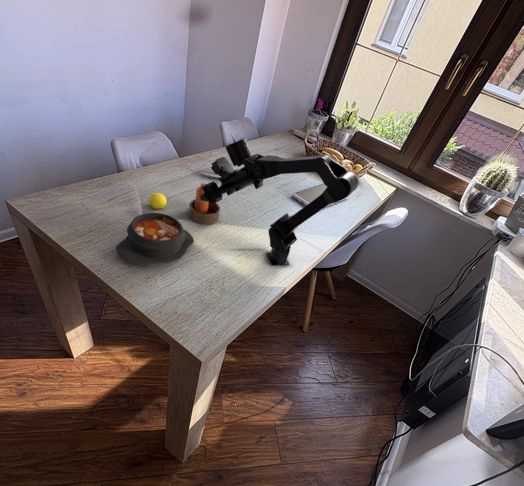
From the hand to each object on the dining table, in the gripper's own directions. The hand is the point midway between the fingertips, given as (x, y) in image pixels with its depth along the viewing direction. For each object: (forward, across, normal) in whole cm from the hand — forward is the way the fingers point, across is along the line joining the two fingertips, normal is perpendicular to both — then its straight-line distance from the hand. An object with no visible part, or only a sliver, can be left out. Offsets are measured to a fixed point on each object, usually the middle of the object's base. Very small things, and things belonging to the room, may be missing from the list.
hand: (209, 194), depth 125 cm
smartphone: (-9, -56, +22) cm, 61 cm away
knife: (+17, -32, -3) cm, 36 cm away
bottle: (+8, 0, +5) cm, 10 cm away
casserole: (+6, +26, +8) cm, 28 cm away
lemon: (+18, +8, -4) cm, 20 cm away
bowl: (+8, 0, +6) cm, 10 cm away
